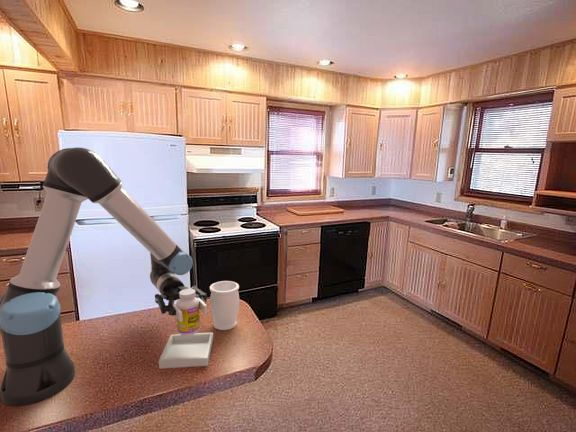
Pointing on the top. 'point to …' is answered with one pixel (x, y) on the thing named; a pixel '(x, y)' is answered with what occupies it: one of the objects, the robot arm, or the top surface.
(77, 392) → the top surface
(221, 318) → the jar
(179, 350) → the tray
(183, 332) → the supplement bottle
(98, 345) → the top surface
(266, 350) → the top surface
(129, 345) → the top surface
